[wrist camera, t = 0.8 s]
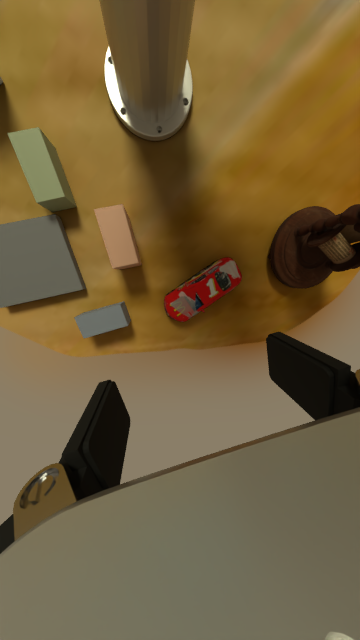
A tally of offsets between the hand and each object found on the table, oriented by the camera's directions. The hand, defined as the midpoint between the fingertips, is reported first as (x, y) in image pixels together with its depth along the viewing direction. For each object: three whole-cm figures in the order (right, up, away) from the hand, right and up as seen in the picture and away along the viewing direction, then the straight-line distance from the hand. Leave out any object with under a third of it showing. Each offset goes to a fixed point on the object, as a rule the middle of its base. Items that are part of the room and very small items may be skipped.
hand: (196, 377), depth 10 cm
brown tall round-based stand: (+24, +18, +25) cm, 39 cm away
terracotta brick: (-11, +17, +20) cm, 29 cm away
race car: (+3, +10, +25) cm, 27 cm away
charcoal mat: (-26, +13, +19) cm, 35 cm away
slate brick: (-15, +4, +23) cm, 28 cm away
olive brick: (-21, +25, +17) cm, 37 cm away
